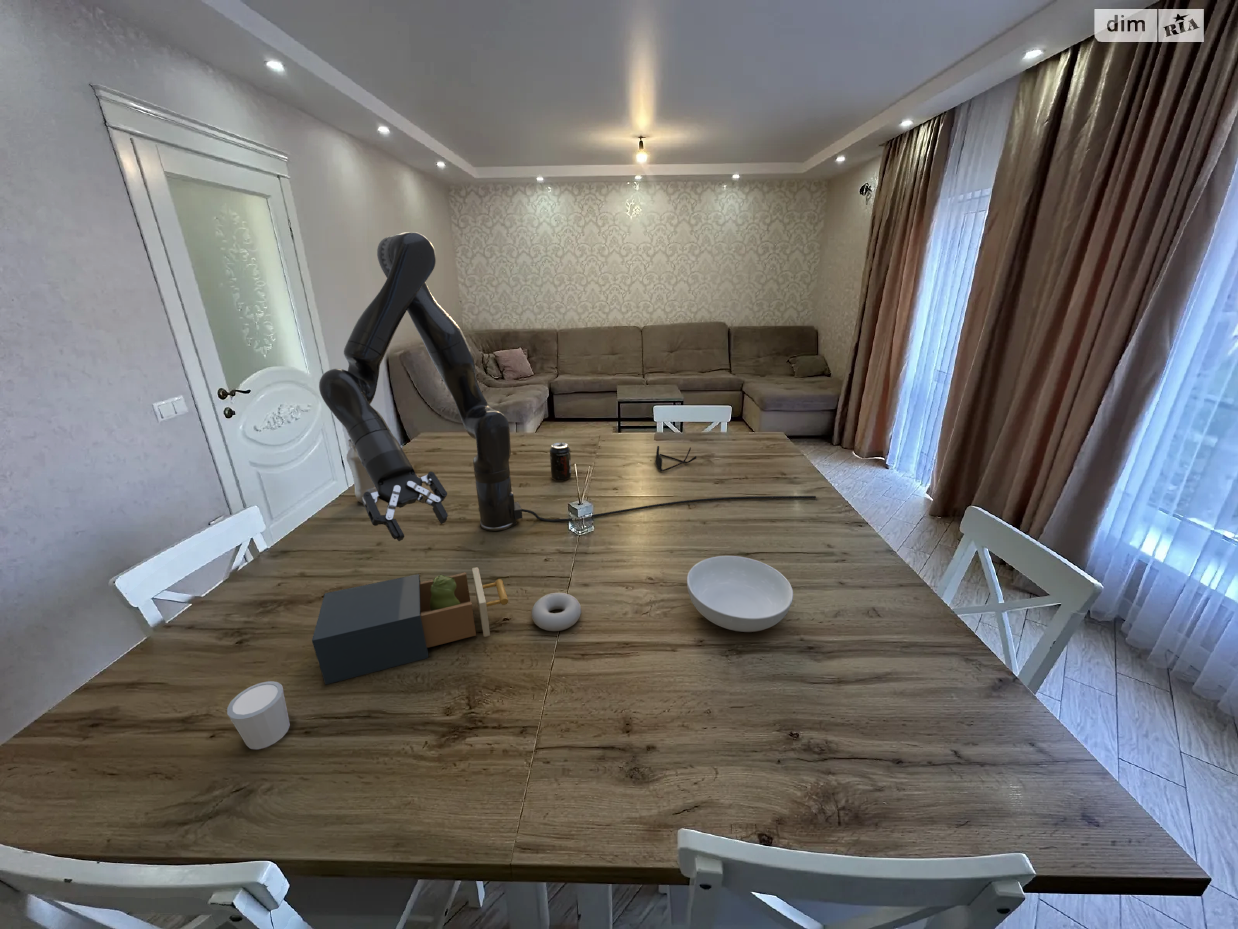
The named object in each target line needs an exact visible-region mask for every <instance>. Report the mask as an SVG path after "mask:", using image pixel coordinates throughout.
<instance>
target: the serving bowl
mask: <svg viewBox="0 0 1238 929" xmlns="http://www.w3.org/2000/svg"><path fill="white" fill-rule="evenodd" d="M686 586H687V587H686V588H687V592H688V597H689V599H690V602H691V603H692V605H693V606H694V608H695V609H696V610H697V611H698V613H699V614H700V615H702V617H704V618H705V619H706V620H707V621H709V622H711V623H712V624H714V625H716V626H719V627H721V628H723V629H727V630H730V631H735V632H744V633H752V632H753V633H754V632H761V631H764V630H767V629H770V628H771V627H775V625H777V624H778V623H780V622H781V621H782V620H783V619H784V618H785V617H786V616H787V614H788V612H789V610H790V608H791V607H792V604H793V600H794V589H793V587H792V585H791V583H790V581H789V580H788V579H787V578H786V576H784V574H782V572H780V571H778V570H777V569H776V568H775V567H772V566H771V565H769V564H766V563H765V562H762V561H760V560H757V559H753V558H749V557H745V556H738V555H718V556H712V557H708V558H705V559H702V560H701V561H698V562H697V563H695V564H694V565H693V566H692V567H691V568H690V569H689V571H688V573H687V577H686Z"/></svg>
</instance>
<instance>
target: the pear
mask: <svg viewBox="0 0 1238 929" xmlns="http://www.w3.org/2000/svg"><path fill="white" fill-rule="evenodd" d="M448 576H449V575H444V574H439V575H437V576H435V577H434V578H433V579H432V580H433V585H431V594H432V596H431V599H430V610H431V611H434V610H438V609H442V608H446V607H451V606H455V605H459V604H460V602H459V600H458V599H457V598H456V597H455V595H454V591H455V589H456V583H455V580H454V578H451V577H448Z"/></svg>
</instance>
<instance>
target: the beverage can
mask: <svg viewBox="0 0 1238 929" xmlns="http://www.w3.org/2000/svg"><path fill="white" fill-rule="evenodd" d="M571 456H572V454H571V448H570V446H569V443H567V442H555V443H552V444H551V448H550V449H549V462H550V476H551V478H552V480H555V481H557V482H566V481H567V480H569V479H570V478H572V459H571Z"/></svg>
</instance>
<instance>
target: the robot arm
mask: <svg viewBox="0 0 1238 929" xmlns="http://www.w3.org/2000/svg"><path fill="white" fill-rule="evenodd" d="M376 256H377V260H378V264H379V266H380V269H381V271H382V272H383V274H384V276H385V277H386V280H385V282H384V283H383V285H382V287H381V288H380V290H379V292H378V293H377V294H376V296H374V297H373V299H372V301H371V302H369V304H368V305H367V307H366V308H365V309H364V310H363V312H362V313H361V315H360V316H359V318H358V319H357V321H356V323H355V325H354V326H353V327H352V331H351V333H350V335H349V337H348V339H347V342H346V343H345V345H344V348H343V356H344V358H345V359H346V361H347V364H348V368H347V370H346V369H343V368H331V369H328V370H327V371H325V372H324V373H323V374H322V375H321V377H320V378H319V382H318V390H319V394H320V396H321V398H322V400H323V402H324V403H325V405H326V407H327V408H328V409H329V410H330V411H331V413H332V414H333V415H334V417H335V418H336V419H337V420H338V422H340V424H341V425H342V426H343V427H344V429H345V431H346V433H347V435H348V437H349V439H351V440H352V442H353V444H354V446H355V448H356V450H357V453H358V456H359V458H360V460H361V463H362V465H363V466H364V467H365V469H366V471H367V473H368V475H369V477H370V478H371V480H372V482H373V484H374V486H375V487H376V489H377V492H373V493H370V492H365V493H364V495H363V498H362V503H361V504H362V505H363V507H364V509H365V511H366V514H367V516H368V518H369V520H370V523H371V525H372V526H374V527H377V526H379V525H382V526H383V525H384V526H385V527H386V528H387V530H388V532H389V534H390V536H391V538H392V539H394V540H397V541H398V542H401V541H403V540H404V538H405V533H404V532H403V530H402V527H401V526H400V524H399V522H398V521H397V519H396V518H394V516H395V511H396V508H399V509H401V508H404V507H405V506H407V505H411V504H415V503H417V502H419V503H421V504H426V505H428V506H430V507H431V510H432V511H433V513H434V515H435V517H436V518H437V520H438V522H439V524H440V525H442V524H445V523H446V522H447V520H448V517H449V514H448V512H447V510H446V509H445V507H444V504H443V503H442V502H444V501H445V499H446V497H447V496H448V492H447V490H446V489H445V487H444V486H443V484H442V483H441V481H440V480H439V478H438V477H437V475H436V473H435V472H434V471H428V473H427V474H425V475H423V476H421V477H420V475H418V474H417V473H416V471H415V469H414V467H413V464H411V462H410V460H409V459H408V457H407V455H406V453H405V451H404V449H403V448H402V445H401V443H400V442H399V441H398V439H397V438H396V437H395V436H394V434H393V433H392V431H391V429H390V427H389V426H388V424H387V423H386V421H385V419H384V417H383V416H382V414H381V413H380V412H379V411H378V410H376V409H375V408H374V407H373V406H372V405H371V404H372V402H373V401H374V399H375V396H376V392H377V387H378V383H379V376H380V369H381V365H382V362H383V360H384V358H385V355H386V353H387V351H388V350H389V347H390V345H391V342H392V340H393V338H394V335H395V333H396V331H397V329H398V328H399V326H400V323H401V322H402V320H403V319H404V315H406V313H408V315H409V317H410V319H411V321H412V323H413V325H414V327H415V329H416V331H417V333H418V335H419V336H420V339H421V340H422V343H423V345H424V347H425V349H426V351H427V353H428V355H429V357H430V359H431V361H432V363H433V365H434V367H435V369H436V370H437V372H438V374H439V376H440V377H441V379H442V381H443V383H444V386H446V388H447V390H448V392H449V393H450V396H451V397H452V400H453V401H454V404H455V406H456V409H457V412H458V414H459V416H460V419H461V422H462V424H463V428H464V430H465V432H466V434H468V435H469V436H470V438H472V439H474V440H475V444H476V455H475V456H474V457H473V459H472V465H473V473H474V480H475V490H476V497H477V504H478V512H479V523H480V527H481V528H482V529H483V530H485V531H487V532H499V531H504V530H507V529H509V528H511V527H513V526H516V525H517V520H520V519H521V520H522V519H523V513H528V514H531V515H533V516H534V517H535V518H536V519H537V520H539V521H541V522H548V523H549V522H550V523H551V522H552V523H558V522H560V523H561V522H573V521H572V518H573V517H569V518H556V519H549V518H545V517H541V516H539V515H538V513H537V512H536V511H533V510H530V509H525V508H522V506H521V505H520V503H519V501H515V498H514V497H515V496H514V492H513V490H512V479H511V478H512V477H511V469H510V458H511V455H512V446H511V430H510V424H509V420H508V418H507V417H506V416H505V414H504V413H503V412H501V411H499V410H497V409H494V408H492V407H491V406H490V404H489V403H488V401H487V399H486V398H485V396H484V394H483V392H482V390H481V387H480V386H479V383H478V378H477V368H476V363H475V358H474V355H473V351H472V349H471V347H470V345H469V343H468V340H467V339H466V336H465V334H464V332H463V330H462V328H461V327H460V326H459V325H458V324H457V322H456V321H455V320H454V319H453V317H452V316H451V315H450V313H448V312H447V311H446V310H445V309H444V308H443V307H442V305H440V304H439V303H438V300H436V298H435V297H434V296H433V294H432V292H431V290H430V288H429V286H428V284H427V281H428V279H429V277H430V276H431V275H432V273H433V271H434V270H435V267H436V264H437V254H436V249H435V247H434V245H433V243H432V242H431V241H430V239H429V238H427V237H426V236H425V235H423V234H422V233H419V232H416V231H405V232H401V233H397V234H392V235H389V236H386V237H384V238H382V239H381V240H380V241H379V243H378V245H377V249H376ZM423 484H425V486H426V487H429V488H430V490H431V491H432V492H431V491H430V490H429V489H427V488H425V487H423ZM377 498H378V499H379V500H381V501H383V502H385V503H387V505H386V510H385V514H381V513H380V510H379V508H378V506H377V502H378V499H377ZM816 498H817V496H816V495H761V496H760V495H759V496H756V495H754V496H752V495H751V496H725V497H723V496H721V497H707V498H697V499H685V500H678V501H670V502H663V503H656V504H655V503H654V504H649V505H644V506H643V505H642V506H637V507H631V508H624V509H619V510H613V511H607V512H601V513H595V514H591V515H592V517H591V518H596V517H604V516H609V515H614V514H615V515H616V514H622V513H627V512H632V511H638V510H639V511H640V510H644V509H651V508H657V507H666V506H673V505H679V504H689V503H698V502H708V501H709V502H710V501H726V500H727V501H728V500H760V499H761V500H762V499H763V500H764V499H766V500H767V499H769V500H771V499H772V500H773V499H816Z"/></svg>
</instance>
